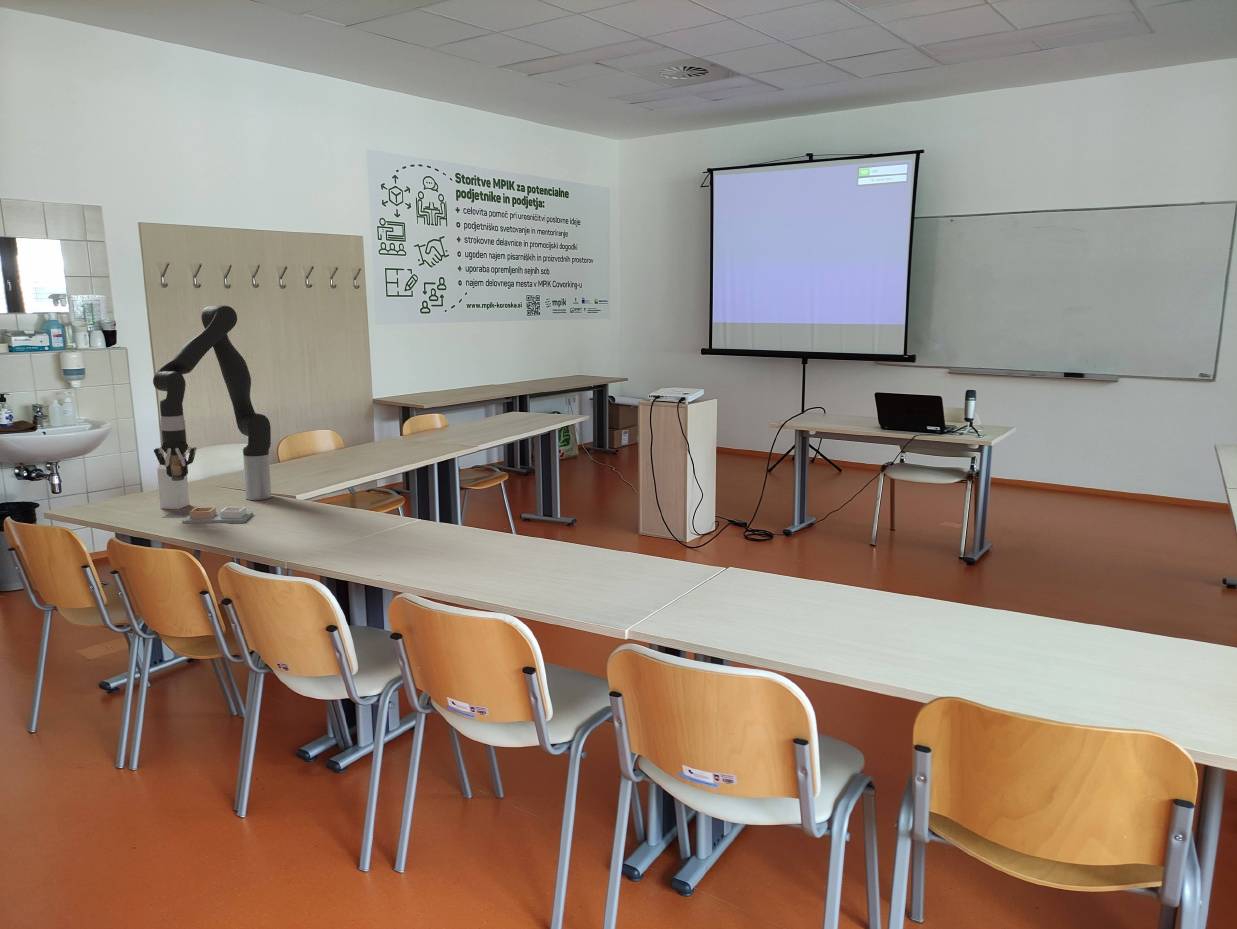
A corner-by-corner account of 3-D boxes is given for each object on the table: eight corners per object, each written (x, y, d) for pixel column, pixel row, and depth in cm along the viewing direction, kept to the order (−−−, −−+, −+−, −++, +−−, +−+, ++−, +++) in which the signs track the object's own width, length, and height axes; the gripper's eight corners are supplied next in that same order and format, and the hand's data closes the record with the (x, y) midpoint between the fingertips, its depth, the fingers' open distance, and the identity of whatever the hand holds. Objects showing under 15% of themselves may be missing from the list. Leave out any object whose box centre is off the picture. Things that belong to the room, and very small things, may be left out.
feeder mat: (171, 512, 306) (170, 511, 306) (197, 512, 308) (197, 511, 308) (161, 518, 298) (161, 517, 297) (189, 518, 299) (189, 517, 299)
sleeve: (174, 478, 302) (171, 453, 300) (186, 478, 303) (183, 453, 301) (170, 480, 298) (167, 455, 296) (182, 480, 299) (179, 455, 297)
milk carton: (179, 509, 311) (175, 458, 307) (160, 509, 311) (156, 458, 307) (189, 505, 318) (185, 455, 314) (170, 504, 318) (166, 454, 314)
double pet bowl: (193, 515, 302) (193, 505, 302) (253, 514, 305) (252, 504, 305) (182, 524, 291) (181, 513, 290) (243, 522, 294) (243, 512, 293)
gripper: (198, 426, 302) (202, 473, 305) (155, 427, 299) (160, 474, 303) (191, 429, 294) (195, 478, 298) (147, 430, 292) (152, 478, 295)
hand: (177, 476), depth 300 cm, fingers closed on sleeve, 4 cm apart
